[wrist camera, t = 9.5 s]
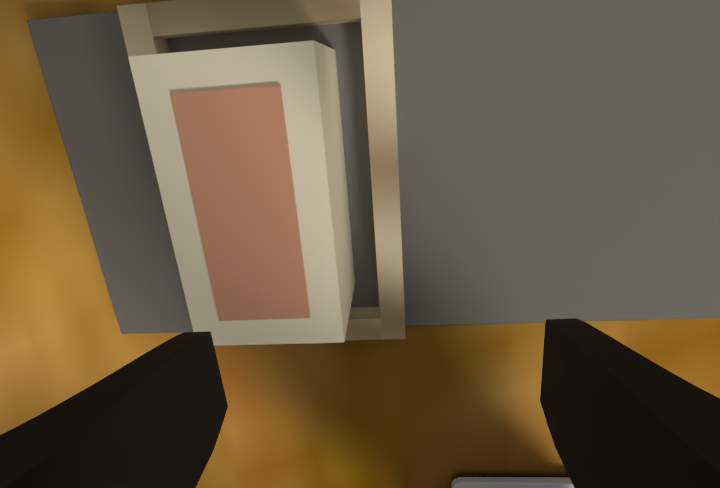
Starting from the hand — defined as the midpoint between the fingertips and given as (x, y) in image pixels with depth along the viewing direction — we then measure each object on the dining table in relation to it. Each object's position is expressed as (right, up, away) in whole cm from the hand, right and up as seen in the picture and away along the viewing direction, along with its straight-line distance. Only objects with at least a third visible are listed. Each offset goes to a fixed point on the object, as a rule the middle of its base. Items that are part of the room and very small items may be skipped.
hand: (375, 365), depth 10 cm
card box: (-3, +5, +8) cm, 10 cm away
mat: (+5, +5, +8) cm, 11 cm away
